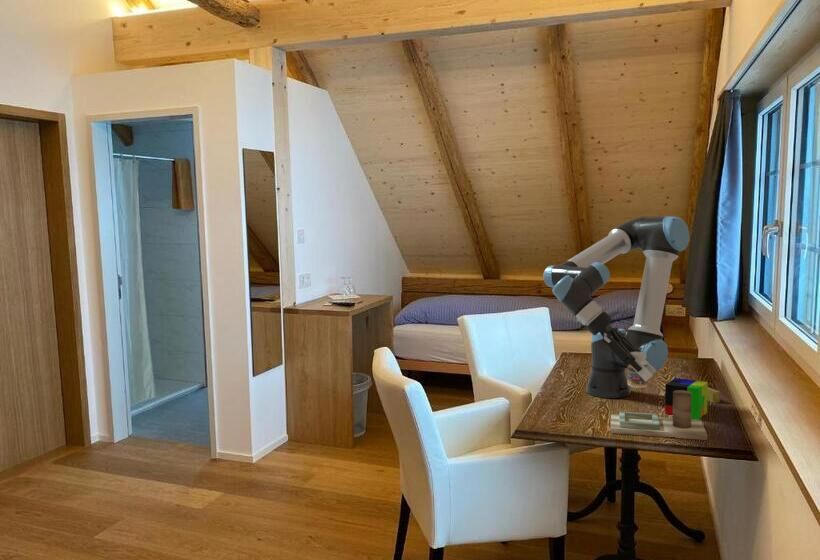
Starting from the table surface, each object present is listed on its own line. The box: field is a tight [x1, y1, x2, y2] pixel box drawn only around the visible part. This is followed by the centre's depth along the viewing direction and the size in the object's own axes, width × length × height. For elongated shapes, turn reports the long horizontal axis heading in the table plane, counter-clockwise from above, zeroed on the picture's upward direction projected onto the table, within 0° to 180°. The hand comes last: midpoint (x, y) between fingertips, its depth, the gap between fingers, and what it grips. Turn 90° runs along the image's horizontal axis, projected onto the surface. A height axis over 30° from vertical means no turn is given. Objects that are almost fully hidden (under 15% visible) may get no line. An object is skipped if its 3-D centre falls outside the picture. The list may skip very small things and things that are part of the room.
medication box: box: [707, 387, 721, 404], centre depth 222 cm, size 12×3×4 cm, turn 14°
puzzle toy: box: [664, 377, 709, 420], centre depth 205 cm, size 10×10×10 cm
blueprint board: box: [610, 390, 708, 441], centre depth 191 cm, size 14×26×12 cm, turn 72°
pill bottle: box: [627, 352, 649, 389], centre depth 191 cm, size 6×6×10 cm
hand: (650, 375), depth 190 cm, fingers closed on pill bottle, 6 cm apart
